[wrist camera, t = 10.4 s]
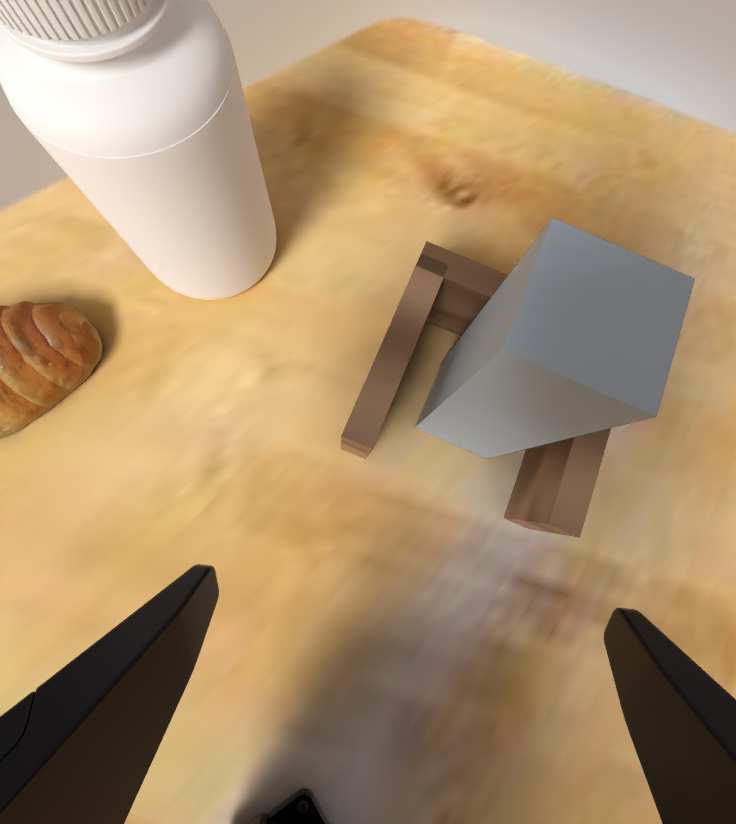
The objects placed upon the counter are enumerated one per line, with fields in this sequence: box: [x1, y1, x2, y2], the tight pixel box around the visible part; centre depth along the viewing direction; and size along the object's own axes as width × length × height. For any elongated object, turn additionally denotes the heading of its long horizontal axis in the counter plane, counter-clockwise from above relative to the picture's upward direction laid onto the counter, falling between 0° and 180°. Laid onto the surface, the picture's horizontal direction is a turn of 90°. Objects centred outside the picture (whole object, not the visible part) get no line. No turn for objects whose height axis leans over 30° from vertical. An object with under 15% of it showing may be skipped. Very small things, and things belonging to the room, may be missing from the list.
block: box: [415, 218, 695, 459], centre depth 18 cm, size 4×4×13 cm
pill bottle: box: [0, 0, 276, 300], centre depth 18 cm, size 8×8×15 cm
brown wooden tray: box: [341, 241, 611, 537], centre depth 22 cm, size 11×12×5 cm
